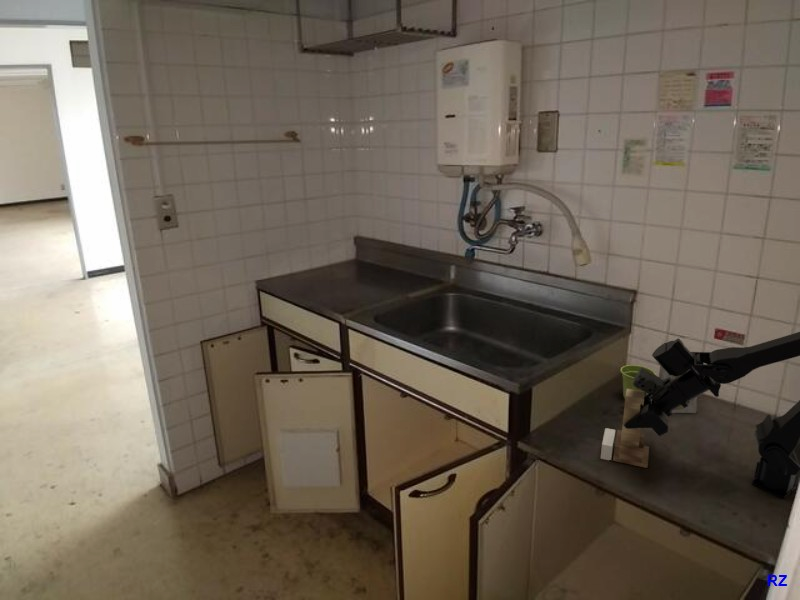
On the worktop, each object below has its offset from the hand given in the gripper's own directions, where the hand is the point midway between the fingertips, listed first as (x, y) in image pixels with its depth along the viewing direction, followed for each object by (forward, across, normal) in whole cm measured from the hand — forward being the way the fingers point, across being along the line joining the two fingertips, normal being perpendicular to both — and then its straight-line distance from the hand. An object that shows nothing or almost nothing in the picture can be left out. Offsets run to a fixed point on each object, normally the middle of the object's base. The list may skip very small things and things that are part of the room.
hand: (625, 422), depth 133 cm
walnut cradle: (+5, 0, +8) cm, 9 cm away
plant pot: (+6, -31, +7) cm, 33 cm away
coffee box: (-2, -30, +15) cm, 33 cm away
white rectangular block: (+9, 0, +4) cm, 10 cm away
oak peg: (+4, 0, +6) cm, 7 cm away
